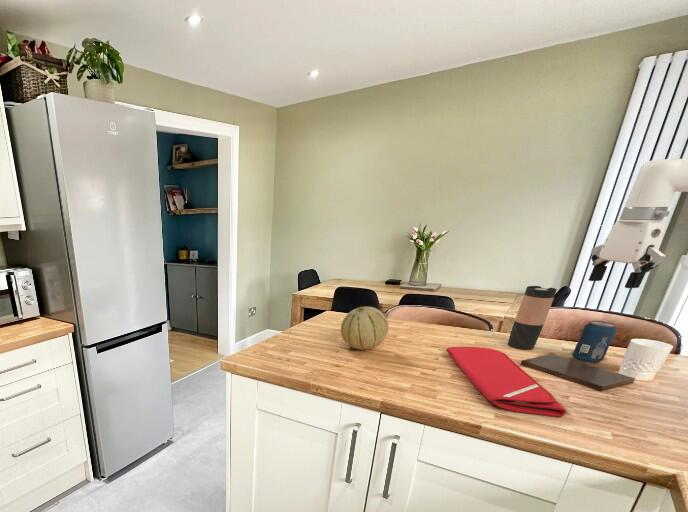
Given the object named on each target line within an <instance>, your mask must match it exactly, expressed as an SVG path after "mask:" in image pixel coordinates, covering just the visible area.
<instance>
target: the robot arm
mask: <svg viewBox="0 0 688 512" xmlns="http://www.w3.org/2000/svg"><path fill="white" fill-rule="evenodd" d="M676 192H677V193H688V159H685V158H664V159H663V158H661V159H652V160H648V161H646V162H644V163H643V164H642V165H641V167H640V168H639V170H638V173H637V175H636V177H635V180H634V183H633V185H632V187H631V190H630V192H629V195H628V197H627V199H626V202H625V204H624V206H623V209H622V211H621V213H620V217H619V219H618V220H617V221H616V222H614V224H613V226H612V227H611V229H610V231H609V233H608V234H607V236H606V238H605V240H604V242H603V244H600V245H597V246H594V247H592V248H591V251H590V252H591V257H590V259H591V261H592V270H591V273H590V275H589V277H588V281H589V282H601V281H602V280H603V279H604V276H605V274H606V271H607V269H608V263H609V264H610V263H611V262H614V263H615V262H616V263H622V264H631V265H632V268H633V271H631V272H630V274H629V276H628V277H627V280H626V283H625V285H624V288H625V289H638V288H640V286H641V284H642V282H643V280H644V278H645V276H646V274H647V273H650V272H651V270H653V269H655V268H657V267H658V266H659V264H661V263H662V262H663V261H664V260H665V259H666V258H667V256H666V255H665V253H663V252H661V251H660V250H659V249H660V246H661V244H662V240H663V237H664V234H665V229H666V221H663V220H664V219H665V218H667V217H668V216H670V211H669V207H670V205H671V203H672V201H673V198H674V197H675V194H676Z"/></svg>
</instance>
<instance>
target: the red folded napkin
mask: <svg viewBox="0 0 688 512" xmlns="http://www.w3.org/2000/svg"><path fill="white" fill-rule="evenodd" d="M445 351H446V353H447V354H448V355H449V356H450V358H451V359H452V361H454V363H455V364H456V365H457V367H458V368H459V369H460V370H461V371H462V372H463V374H464V375H465V376H466V377H467V379H468V380H469V381H470V382H471V384H472V385H473V386H474V387H475V389H477V390H478V391H479V392H480V393H481V394H482V395H483V396H484V397H485V398H486V399H487V400H488V401H489V402H491V403H492V404H493V405H494V406H497V407H498V408H500V409H503V410H506V411H512V412H516V413H517V412H518V413H525V414H531V415H539V416H545V415H546V417H552V416H554V418H562V417H564V416H565V415H566V413H567V410H566V409H565V407H564V406H563V405H561V404H560V403H559V402H558V401H557V400H556V398H555V397H554V395H553V394H552V393H550V392H549V391H548V390H547V389H545V388H544V387H543V386H542V385H541V384H540V383H538V381H536V380H535V379H534V378H533V377H532V376H531V375H529V373H527V372H526V371H524V369H522V367H520V366H519V365H518V364H517V363H516V362H515V361H513V359H511V358H510V357H509V355H507V354H506V353H504V352H503V351H500V350H497V349H495V348H489V347H480V346H450V347H447V348H446V349H445Z"/></svg>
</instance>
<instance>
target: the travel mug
mask: <svg viewBox="0 0 688 512" xmlns="http://www.w3.org/2000/svg"><path fill="white" fill-rule="evenodd" d="M557 291H558V289H557V288H555V287H548V288H544V287H542V286H540V285H528V286H526V288H525V291H524V294H523V296H522V299H521V302H520V305H519V308H518V310H517V312H516V316H515V318H514V322H513V325H512V327H511V331H510V333H509V337H508V341H507V346H509V347H510V348H513V349H516V350H523V351H531V350H534V348H535V346H536V344H537V341H538V340H539V337H540V334H541V332H542V330H543V328H544V325H545V323H546V320H547V317H548V315H549V313H550V309H551V307H552V304H553V302H554V300H555V296H556V293H557Z"/></svg>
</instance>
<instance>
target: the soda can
mask: <svg viewBox="0 0 688 512" xmlns="http://www.w3.org/2000/svg"><path fill="white" fill-rule="evenodd" d="M616 327H617V325H616V324H615V323H613V322H608V321H603V320H589V321H588V323H587V324H586V325H584V327H583V328H582V332H581V333H580V335H579V338H578V341H577V343H576V345H575V347H574V350H573V352H572V357H573V360H574V361H577V362H581V363H584V364H590V363H591V364H590V365H597V364H599V363H601V362H602V361H603V360H604V359H605V357H606V354H607V352H608V350H609V347H610V345H611V343H612V342H613V339H614V337H615V335H616V333H617V329H616ZM596 363H597V364H596Z"/></svg>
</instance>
